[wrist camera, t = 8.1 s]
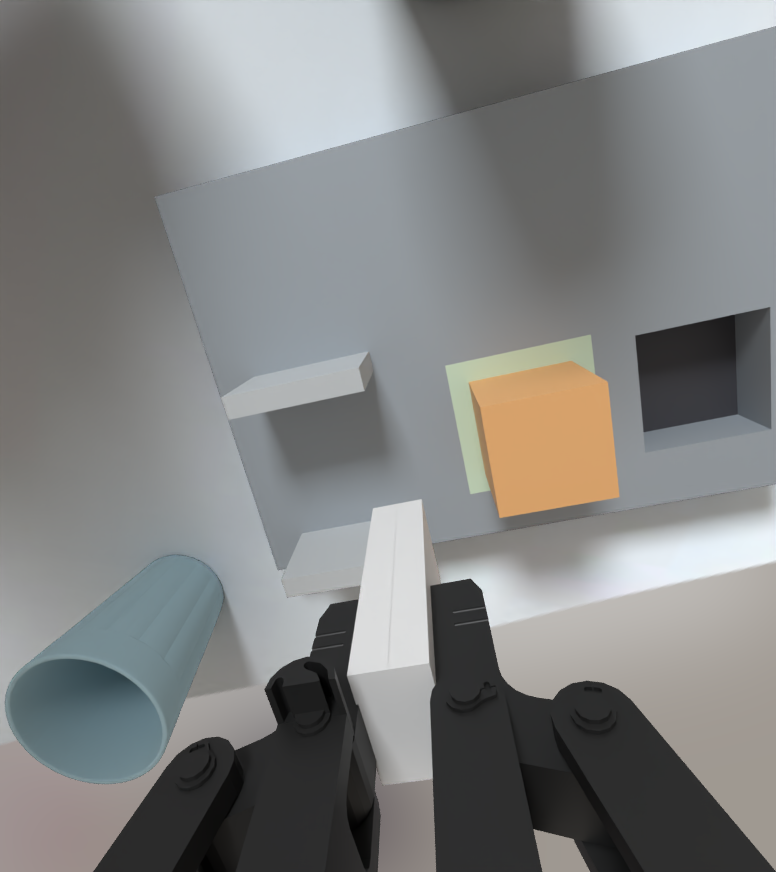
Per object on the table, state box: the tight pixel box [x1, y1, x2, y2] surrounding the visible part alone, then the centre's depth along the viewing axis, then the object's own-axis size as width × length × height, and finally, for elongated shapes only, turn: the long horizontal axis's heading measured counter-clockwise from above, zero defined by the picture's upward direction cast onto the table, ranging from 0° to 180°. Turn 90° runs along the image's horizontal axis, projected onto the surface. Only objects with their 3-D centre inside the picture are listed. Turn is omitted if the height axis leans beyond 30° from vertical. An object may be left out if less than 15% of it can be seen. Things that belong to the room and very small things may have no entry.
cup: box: [5, 555, 224, 784], centre depth 29 cm, size 8×8×10 cm
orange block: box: [469, 361, 620, 518], centre depth 23 cm, size 5×5×5 cm
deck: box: [155, 26, 776, 598], centre depth 24 cm, size 20×28×8 cm
